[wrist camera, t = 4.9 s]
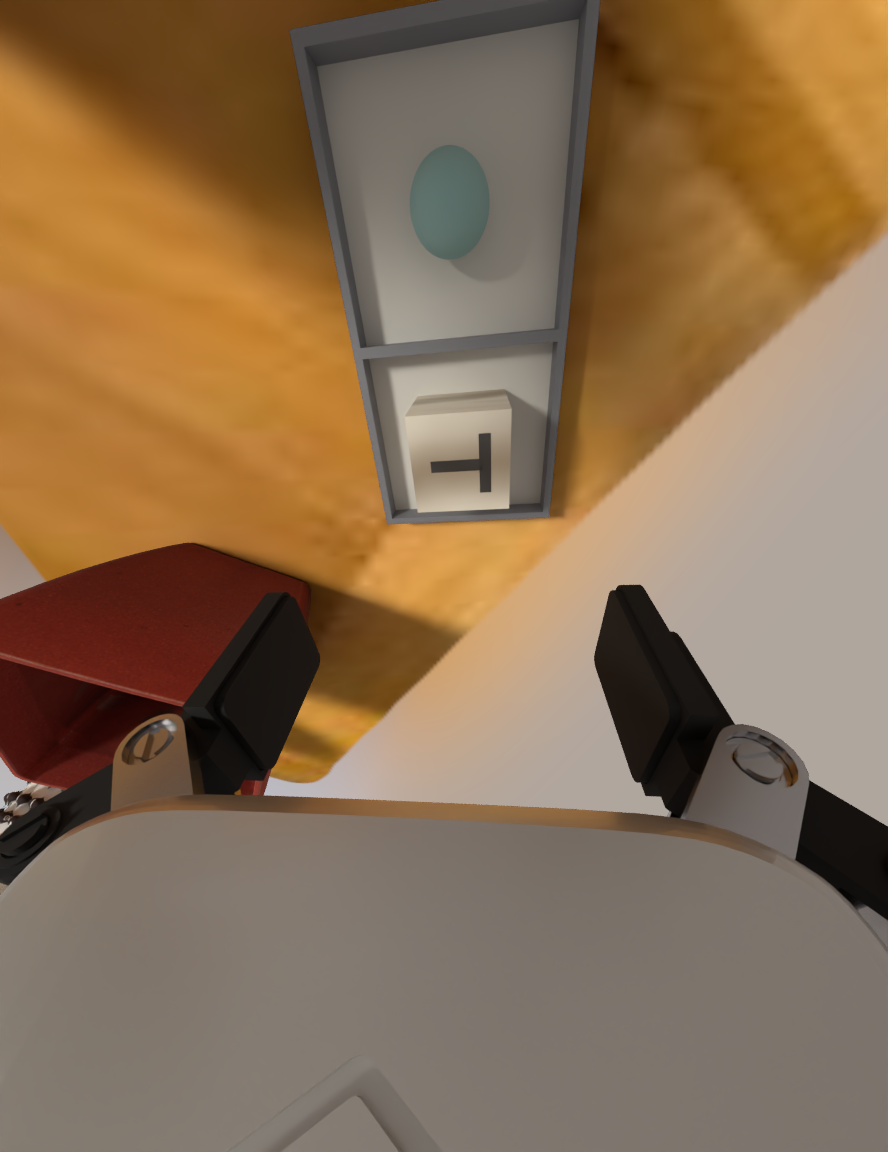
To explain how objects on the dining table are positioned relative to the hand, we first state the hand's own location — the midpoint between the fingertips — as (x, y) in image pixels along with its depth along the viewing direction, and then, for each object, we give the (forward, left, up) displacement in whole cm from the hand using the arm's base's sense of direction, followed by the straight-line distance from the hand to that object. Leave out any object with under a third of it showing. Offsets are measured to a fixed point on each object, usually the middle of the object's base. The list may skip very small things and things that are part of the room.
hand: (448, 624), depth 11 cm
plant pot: (+16, -25, -20) cm, 36 cm away
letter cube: (0, 0, -20) cm, 20 cm away
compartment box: (-6, 0, -20) cm, 21 cm away
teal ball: (-12, 0, -20) cm, 23 cm away
